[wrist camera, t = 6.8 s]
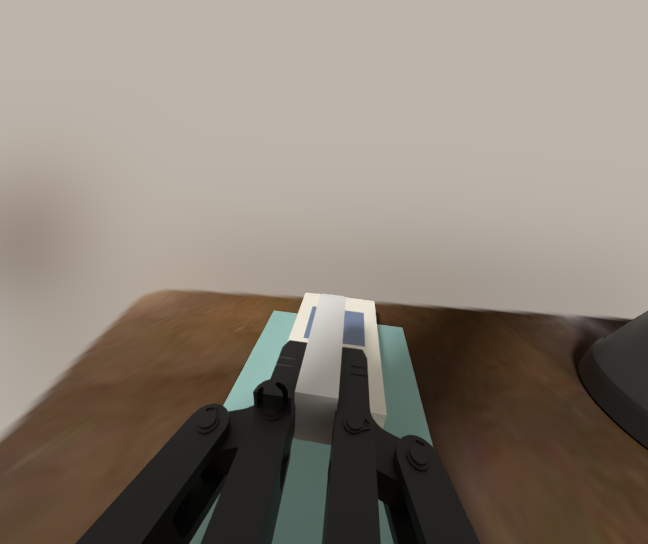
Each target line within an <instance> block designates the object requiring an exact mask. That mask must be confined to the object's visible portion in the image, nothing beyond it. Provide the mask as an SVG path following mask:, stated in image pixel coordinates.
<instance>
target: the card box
mask: <svg viewBox="0 0 648 544" xmlns="http://www.w3.org/2000/svg"><path fill="white" fill-rule="evenodd" d="M319 296H320V294H313V293H305V296H304V299H303V301H302V304H301V307H300V309H299V312H298V315H297V317H296V320H295V323H294V325H293V328H292V331H291V333H290V336H289V339H288V341H289V340H292V341H300V342H307V343H308V339H309V335H310V331H311V327H312V323H313V319H314V316H315V312H316V308H317V304H318V300H319ZM288 341H287V342H288ZM342 347H348V348H355V349H362V350H363V351H364V353H365V355H366V357H367V363H368V382H369V401H370V411H371V415H372V417H373V419H374V420H375V422H376V423H377V424H378V425H379V426H380V427H381V428H382V429H383V426H384V423H385V420H386V416H387V412H386V403H385V394H384V385H383V376H382V367H381V358H380V349H379V340H378V331H377V322H376V313H375V304H374V301H368V300H361V299H353V298H346V302H345V316H344V329H343V343H342Z"/></svg>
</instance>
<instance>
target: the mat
mask: <svg viewBox="0 0 648 544" xmlns="http://www.w3.org/2000/svg"><path fill="white" fill-rule="evenodd" d="M297 315H298V314H296V313H288V312H281V311H274V312H273V314H272V315H271V317H270V319H269V321H268V323H267V325H266V327H265V329H264V330H263V332H262V334H261V336H260V338H259V340H258V342H257V344H256V345H255V347H254V349H253V351H252V353H251V355H250V357H249V359H248V360H247V362H246V364H245V366H244V368H243V370H242V372H241V374H240V375H239V377H238V379H237V381H236V383H235V385H234V387H233V389H232V390H231V392H230V394H229V396H228V398H227V400H226V402H225V404H224V405H223V406H224V407H225V408H226V409H227V410H228V411H234V410H240V409H245V408H248V407H251V406H253V405H254V397H253V391H254V390H255V388H256V387H257V386H258V385H259V384H260V383H262V382H263V381H266V380H269V379H270V378H271V376H272V373H273V370H274V368H275V365H276V363H277V360H278V358H279V355H280V352H281V350H282V347H283V346H284V345H285V344H286V343H287V341H288V339H289V336H290V333H291V331H292V328H293V325H294V323H295V320H296V317H297ZM377 331H378V340H379V349H380V358H381V367H382V376H383V385H384V394H385V403H386V412H387V416H386V420H385V423H384V426H383V429H384V430H385V431H387V432H389V433H391V434H393V435H395V436H397V437H399V438H400V439H401V438H402V437H403V436H406V435H416V436H419V437H421V438H423V439H425V440H426V441H427V442H428V443H429V444H430V445H431V446H432V447H433V445H432V441H431V437H430V433H429V429H428V425H427V422H426V418H425V414H424V410H423V406H422V402H421V398H420V394H419V390H418V386H417V382H416V379H415V375H414V371H413V367H412V363H411V359H410V355H409V351H408V347H407V343H406V339H405V336H404V332H403V328H401V327H393V326H386V325H378V324H377ZM330 451H331V445H326V444H321V443H315V442H309V441H303V440H297V439H294V436H293V440H292V445H291V456H290V461H289V466H288V470H287V475H286V480H285V484H284V489H283V494H282V498H281V503H280V507H279V512H278V517H277V521H276V526H275V531H274V535H273V540H272V544H322V534H323V523H324V512H325V502H326V491H327V480H328V474H327V473H328V467H329V460H330ZM219 496H220V494H219ZM219 496H218V498H219ZM218 498H217V499H216V501H215V502H214V504H213V506H212V507H211V509H210V511H209V512H208V514H207V516H206V517H205V519H204V521H203V522H202V524H201V525H200V527H199V529H198V530H197V532H196V534H195V535H194V537H193V539H192V540H191V542H190V544H201V541H202V539H203V536H204V534H205V531H206V529H207V526H208V523H209V521H210V518H211V516H212V513H213V511H214V508H215V506H216V503H217V501H218ZM378 505H379V522H380V538H381V544H394V543H393V539H392V535H391V531H390V528H389V524H388V520H387V516H386V512H385V508H384V504H383V502H382V501H380V500H378Z"/></svg>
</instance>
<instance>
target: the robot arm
mask: <svg viewBox="0 0 648 544" xmlns="http://www.w3.org/2000/svg"><path fill="white" fill-rule="evenodd" d="M345 302H346V296H337V295H329V294H320V296H319V300H318V304H317V308H316V312H315V316H314V319H313V323H312V327H311V331H310V335H309V339H308V343H307V342H300V341H292V340H289V341H288V342H287V343H286V344H285V345H284V346H283V347H282V350H281V352H280V355H279V358H278V360H277V363H276V365H275V368H274V370H273V373H272V376H271V378H270V379H269V380H266V381H263V382H262V383H260V384H259V385H258V386H257V387H256V388H255V390H254V391H253V397H254V405H253V406H251V407H248V408H245V409H240V410H234V411H228V410H227V409H226V408H225V407H224V406H223V405H220V404H210V405H206V406H204V407H202V408H200V409H198V410H197V411H196V412H195V413H194V414H192V416H191V417H190V418H189V419H188V420H187V421H186V422H185V423H184V424H183V425H182V427H181V428H180V429H179V430H178V431H177V432H176V433H175V434H174V435H173V437H172V438H171V439H170V440H169V441H168V442H167V443H166V444H165V445H164V446H163V448H162V449H161V450H160V451H159V452H158V453H157V454H156V455H155V456H154V458H153V459H152V460H151V461H150V462H149V463H148V464H147V465H146V466H145V467H144V469H143V470H142V471H141V472H140V473H139V474H138V475H137V476H136V477H135V479H134V480H133V481H132V482H131V483H130V484H129V485H128V486H127V487H126V488H125V490H124V491H123V492H122V493H121V494H120V495H119V496H118V497H117V498H116V500H115V501H114V502H113V503H112V504H111V505H110V506H109V507H108V508H107V509H106V511H105V512H104V513H103V514H102V515H101V516H100V517H99V518H98V519H97V521H96V522H95V523H94V524H93V525H92V526H91V527H90V528H89V529H88V530H87V532H86V533H85V534H84V535H83V536H82V537H81V538H80V539H79V540H78V542H77V543H76V544H190V542H191V540H192V539H193V537H194V535H195V534H196V532H197V530H198V529H199V527H200V525H201V524H202V522H203V521H204V519H205V517H206V516H207V514H208V512H209V511H210V509H211V507H212V506H213V504H214V502H215V501H216V499H217V498H218V496H219V494H220V496H219V498H218V501H217V503H216V506H215V508H214V511H213V513H212V516H211V518H210V521H209V523H208V526H207V529H206V531H205V534H204V536H203V539H202V541H201V544H272V540H273V535H274V531H275V526H276V521H277V517H278V512H279V507H280V503H281V498H282V494H283V489H284V484H285V480H286V475H287V470H288V466H289V461H290V456H291V445H292V440H293V436H294V439H297V440H303V441H309V442H315V443H321V444H326V445H331V451H330V460H329V467H328V473H327V474H328V480H327V491H326V502H325V512H324V523H323V534H322V544H381V538H380V522H379V505H378V500H380V501H382V502H383V504H384V508H385V512H386V516H387V520H388V524H389V528H390V531H391V535H392V539H393V543H394V544H480V542H479V540H478V538H477V536H476V534H475V532H474V530H473V528H472V525H471V523H470V521H469V519H468V517H467V515H466V513H465V511H464V509H463V507H462V504H461V502H460V500H459V498H458V496H457V494H456V492H455V490H454V488H453V486H452V483H451V481H450V479H449V477H448V475H447V473H446V471H445V469H444V467H443V465H442V462H441V460H440V458H439V456H438V454H437V453H436V451H435V450H434V448H433V447H432V446H431V445H430V444H429V443H428V442H427V441H426V440H425V439H423V438H421V437H419V436H416V435H406V436H403V437H402V438H401V439H400V438H399V437H397V436H395V435H393V434H391V433H389V432H387V431H385V430H384V429H382V428H381V427H380V426H379V425H378V424H377V423H376V422H375V420H374V419H373V417H372V415H371V411H370V401H369V382H368V363H367V357H366V355H365V353H364V351H363V350H362V349H355V348H348V347H342V343H343V329H344V316H345ZM578 371H579V375H580V378H581V380H582V382H583V384H584V385H585V387H586V389H587V390H588V392H589V393H590V394H591V396H592V397H593V398H594V399H595V401H596V402H597V403H598V404H599V405H600V406H601V407H602V408H603V409H604V410H605V411H606V412H607V414H608V415H610V416H611V417H612V418H613V419H614V420H615V421H616V422H617V423H618V424H619V425H620V426H621V427H622V428H623V429H625V430H626V431H627V432H628V433H629V434H630V435H632V436H633V437H634V438H635V439H636V440H638V441H639V442H640V443H641V444H643V445H644V446H645V447H646V448H648V311H647V312H645V313H643V314H642V315H640V316H638V317H637V318H635V319H633V320H632V321H630V322H628V323H627V324H625V325H624V326H622V327H620V328H619V329H617V330H616V331H614V332H613V333H611V334H610V335H607V336H604V337H602V338H600V339H598V340H596V341H595V342H594V343H593V344H592V345H591V346H590V347H589V349H588V350H587V351H586V353H585V354H584V355H583V357H582V358H581V359H580V361H579V364H578Z"/></svg>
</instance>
